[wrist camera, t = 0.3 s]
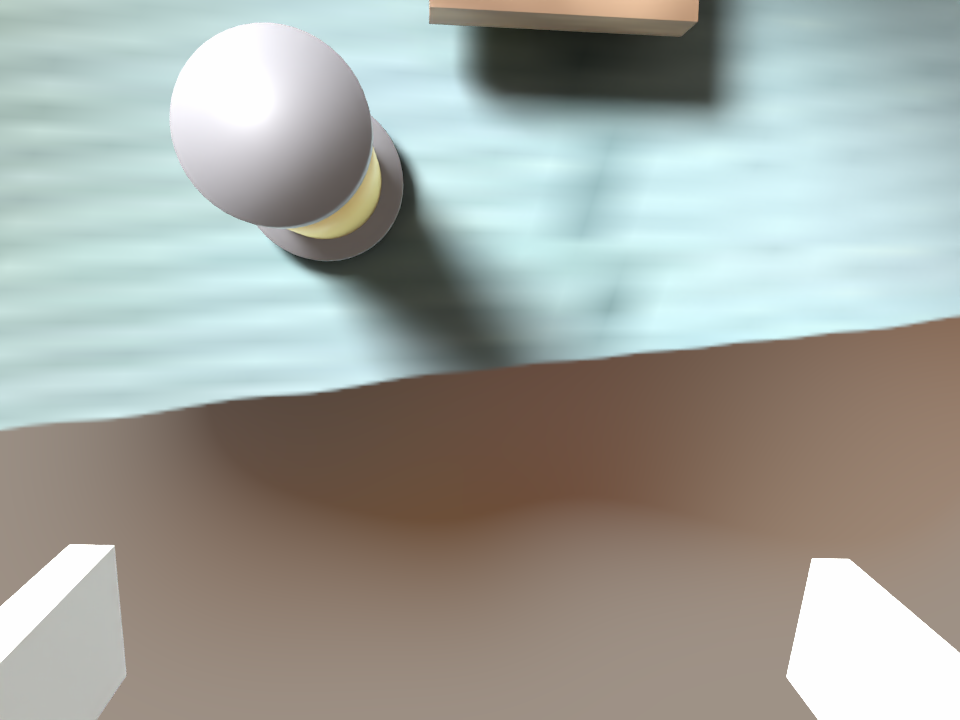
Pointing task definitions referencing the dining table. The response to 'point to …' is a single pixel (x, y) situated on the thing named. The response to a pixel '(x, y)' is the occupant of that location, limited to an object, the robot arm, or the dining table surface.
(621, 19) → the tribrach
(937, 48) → the dining table surface
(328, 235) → the yellow thread spool
